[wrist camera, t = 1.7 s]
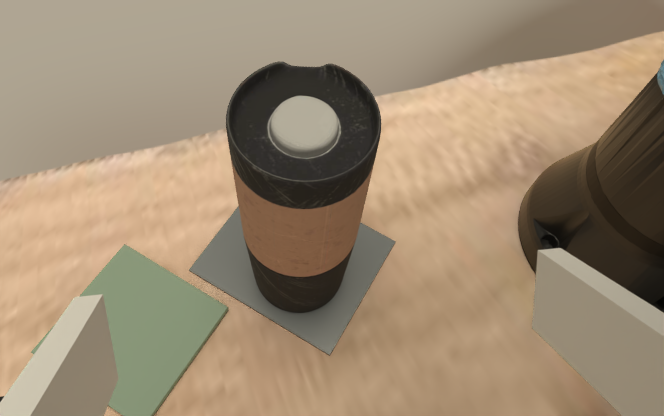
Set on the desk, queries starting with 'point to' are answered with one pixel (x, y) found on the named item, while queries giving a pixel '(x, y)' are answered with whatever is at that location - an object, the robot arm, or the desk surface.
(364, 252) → the card
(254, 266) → the travel mug
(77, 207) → the desk surface
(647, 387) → the robot arm
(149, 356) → the sage green mat
